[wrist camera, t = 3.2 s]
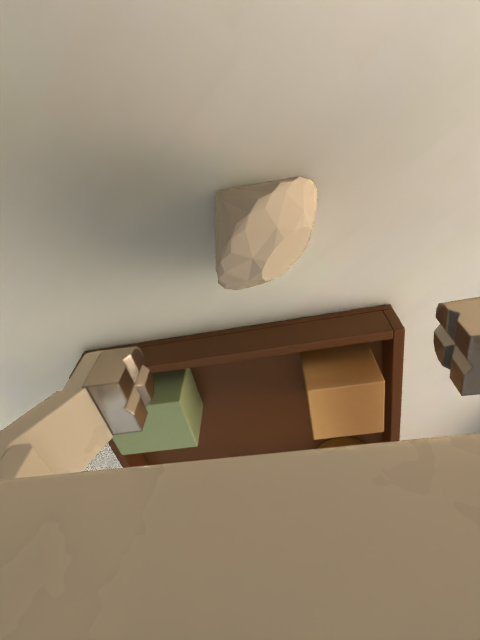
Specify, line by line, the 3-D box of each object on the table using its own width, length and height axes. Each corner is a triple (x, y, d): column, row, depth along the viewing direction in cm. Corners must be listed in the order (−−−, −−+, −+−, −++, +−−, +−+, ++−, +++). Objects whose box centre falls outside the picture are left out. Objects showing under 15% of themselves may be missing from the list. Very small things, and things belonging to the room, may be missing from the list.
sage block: (135, 413, 27) (121, 455, 24) (114, 371, 24) (96, 412, 22) (203, 404, 26) (198, 446, 23) (188, 360, 24) (179, 401, 21)
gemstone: (187, 124, 14) (278, 199, 13) (279, 132, 19) (355, 189, 17) (150, 251, 18) (215, 321, 17) (233, 233, 23) (292, 287, 21)
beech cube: (305, 391, 25) (313, 440, 22) (298, 344, 23) (306, 391, 20) (366, 383, 25) (384, 432, 21) (364, 334, 22) (385, 381, 19)
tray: (161, 494, 33) (155, 522, 31) (83, 351, 24) (68, 377, 22) (386, 471, 31) (396, 500, 28) (390, 303, 22) (405, 328, 20)
